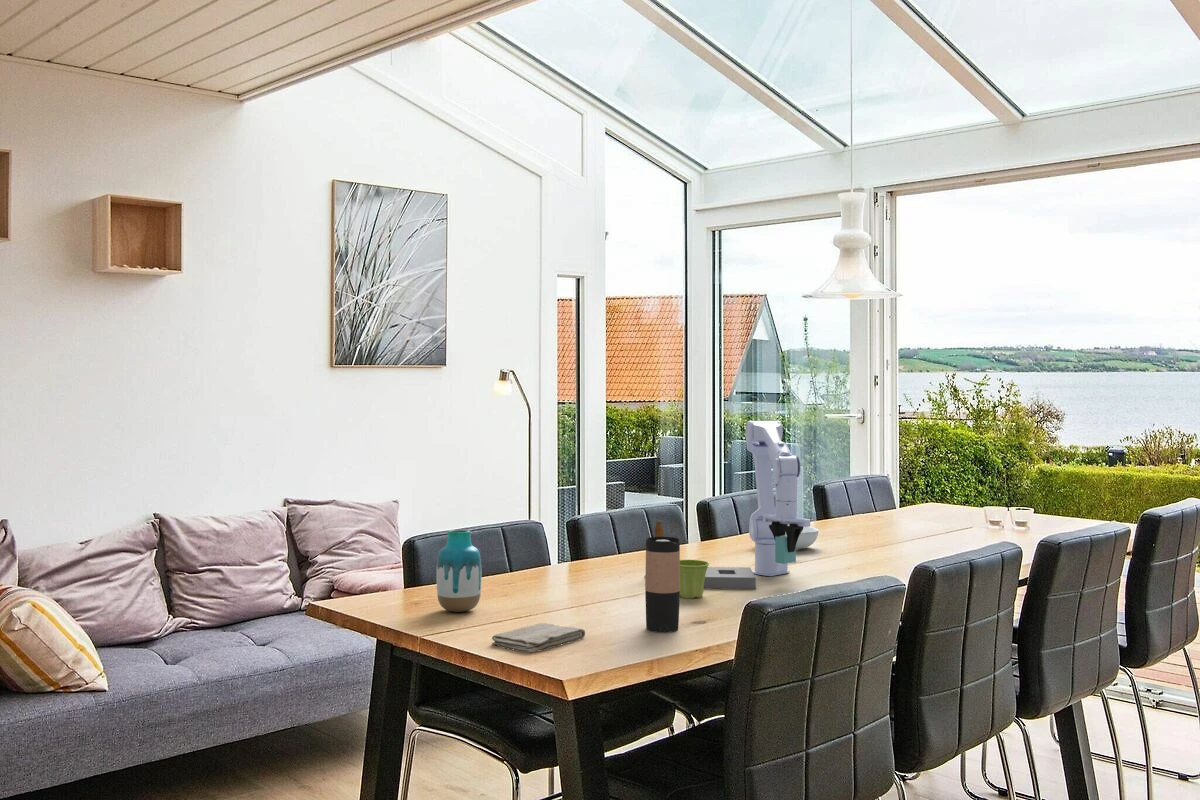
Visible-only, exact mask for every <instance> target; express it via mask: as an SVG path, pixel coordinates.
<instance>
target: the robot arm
mask: <svg viewBox="0 0 1200 800" xmlns="http://www.w3.org/2000/svg"><path fill="white" fill-rule="evenodd" d="M783 429H784V428H783V423H782V422H781V421H780V420H748V421H747V422H746V425H745V434H744V435H745V443H746V444H745V445H746V448H747V449H746V450H747V451H748V452H750V453H751V454H752V457H753V461H754V465H753V466H754V474H755V484H756V485H755V486H756V497H757V509H756V510H755V511H754V512H752V513H751V515H750V517H749V524H748V525H749V526H748V534H749V538H750V540H752V542H754V569H751V570H752V572H753V574H754V575H759V576H766V577H774V576H778V575H784V574H785V575H786V574H789V573H791V571H790V570H788V568H789V567H788V564H789V563H786V564H782V563H775V537H776V536H782V535H787V549H788V552H794V551H795V547H796V543H797V540H798V538H799V535H800V533H801V532H802V530H803V527H811V519H810V518H804V517H801V516H800V517H799V516H798V513H797V512H798V478H799V477H800V474H801V459H800V457H799V456H798V455H795V454H794V455H793V454H792V452H791V449H790V447H789V446H788V445H787V443H786V442H784V441H782V439H783V435H784V433H783V431H784V430H783ZM771 462H772V463H771ZM771 464H772V465H771ZM772 472H773V474H772ZM773 482H774V484H775V496H774V487H773V486H774V485H773ZM787 525H790V526H787Z"/></svg>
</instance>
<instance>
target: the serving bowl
mask: <svg viewBox="0 0 1200 800" xmlns="http://www.w3.org/2000/svg"><path fill="white" fill-rule="evenodd" d="M787 526H790V525H789V524H788V525H787ZM818 534H819V528H816V527H812V526H810V527H803V530H802V532H801V533H800V535H799V538H798V540H797V543H796V551H798V550H797V549H799V550H801V549H806V548H808V547H810V546H812V545H813V544H814V543H815V542H816V541H817V539H818V536H819V535H818Z"/></svg>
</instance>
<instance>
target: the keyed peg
mask: <svg viewBox="0 0 1200 800" xmlns="http://www.w3.org/2000/svg"><path fill="white" fill-rule="evenodd" d="M796 556H797V550H796V547H795V551H794V552H788V549H787V535H782V536H776V537H775V563H782V564H786V563H788V564H790V563H795V562H796V561H797V557H796Z"/></svg>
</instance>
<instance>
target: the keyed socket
mask: <svg viewBox="0 0 1200 800" xmlns="http://www.w3.org/2000/svg"><path fill="white" fill-rule="evenodd" d="M752 570H753V569H751V567H750V566H749V567H746V566H745V567H744V566H742V567H741V566H740V567H739V566H736V567H734V566H732V567H731V566H708V567H707V571H706V575H705V581H704V588H703V589H726V590H727V589H728V590H729V589H731V590H732V589H739V590H741V589H742V590H743V589H745V590H747V589H748V590H756V588H757V587H756V583H757V582H756V580H757V578H756V574H753V572H752Z"/></svg>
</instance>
